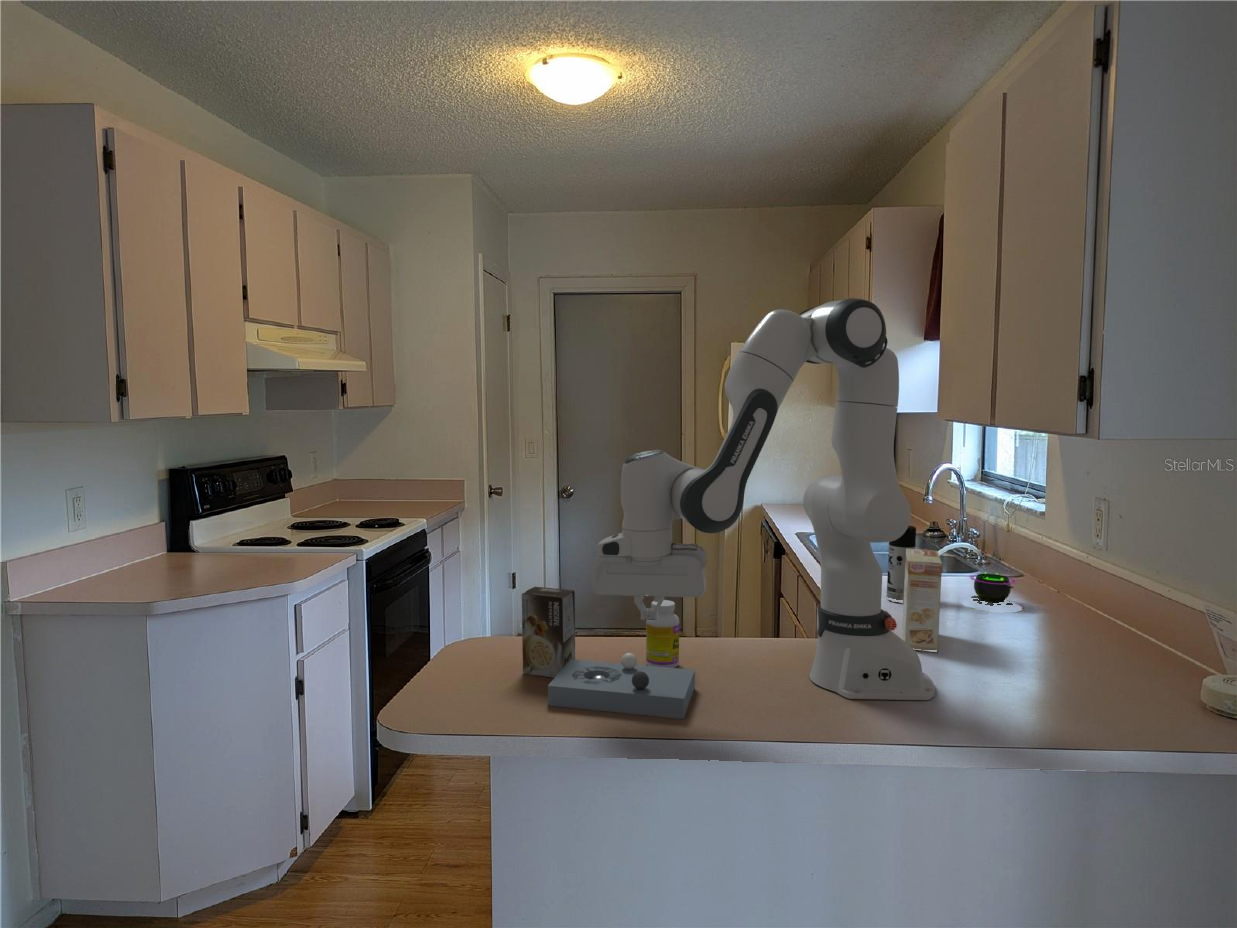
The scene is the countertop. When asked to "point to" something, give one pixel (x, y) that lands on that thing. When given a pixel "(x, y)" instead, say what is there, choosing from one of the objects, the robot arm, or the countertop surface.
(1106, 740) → the countertop surface
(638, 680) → the black ball
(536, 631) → the coffee box
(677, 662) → the supplement bottle
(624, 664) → the cream ball
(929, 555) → the coffeecake box
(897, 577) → the spray can
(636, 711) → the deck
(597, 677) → the steel ball
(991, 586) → the toy cauldron
